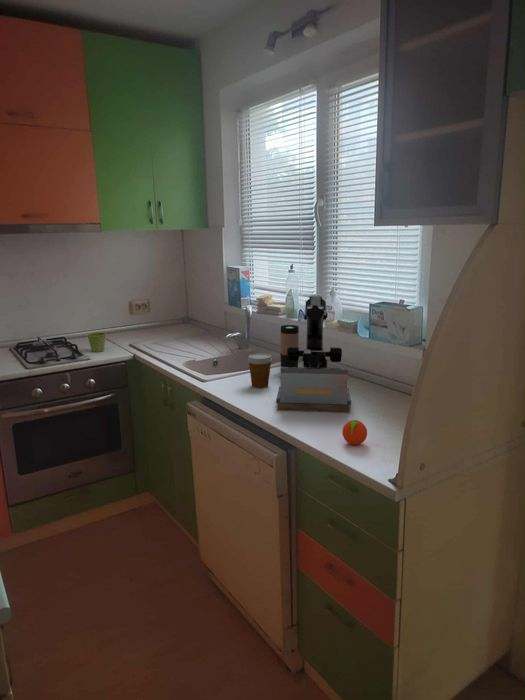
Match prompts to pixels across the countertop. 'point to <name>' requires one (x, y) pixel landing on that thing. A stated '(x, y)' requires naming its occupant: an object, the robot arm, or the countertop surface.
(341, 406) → the tray
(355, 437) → the clementine
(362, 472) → the countertop surface
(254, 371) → the disposable coffee cup
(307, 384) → the panel
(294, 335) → the travel mug
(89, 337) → the plant pot
